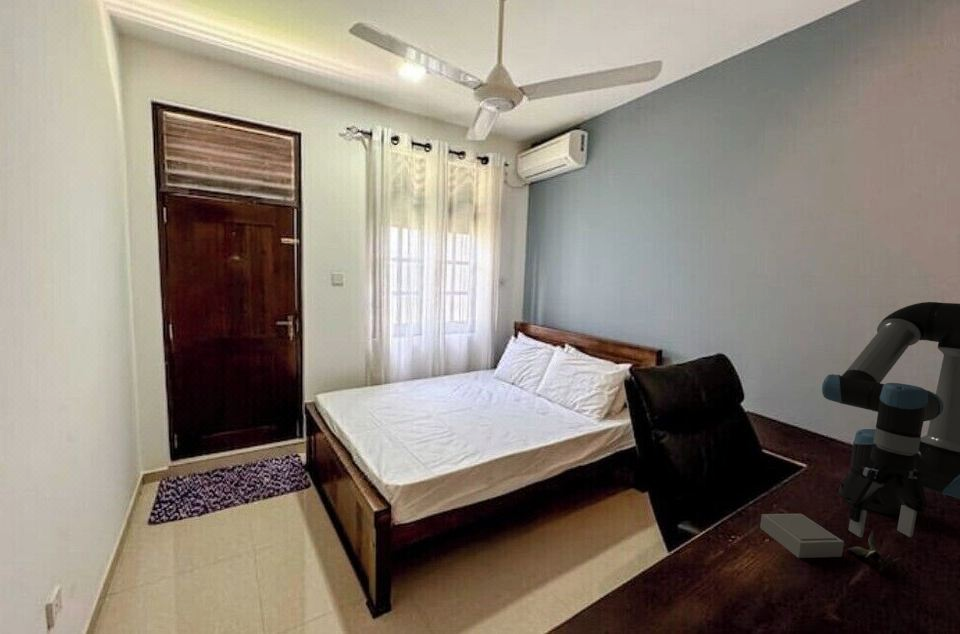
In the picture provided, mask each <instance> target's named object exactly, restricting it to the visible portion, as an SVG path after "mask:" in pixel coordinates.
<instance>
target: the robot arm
mask: <svg viewBox="0 0 960 634" xmlns="http://www.w3.org/2000/svg"><path fill="white" fill-rule="evenodd" d="M876 331H877V333H876V334H875V335H874V337H872V339H871V340H870V341H869V343H868V344H867V345H866V346H865V347H864V348H863V350H862V351H861V352H860V353H859V355H858V356H857V358H855V360H854V361H853V362H852V363H851V365H850V366H849V367H848V368H847V369H846V370H845V371H844V373H843V374H842V375H840V374H833V373H832V374H828V375H827V376H825V378H824V379H823V382H822V385H821V386H822V387H821V391H822V395H823V397H824V399H826V400H828V401H832V402H835V403H839V404H841V405H847V406H850V407H856V408H859V409H863V410H867V411H872V412H876V413H877V416H876V423H875V428H864V429H863V428H862V429H859V430H858V431H856V433H855V436H854V440H853V442H852V445H853V446H852V452H851V460H850V465H849V470H848V473H847V475H846V476H845V477H844V479H843V480H842V482H841V483H840V484H839V488H838V489H839V490H838V493H839V495H840V496H841V497H842V499H843V500H842V501H843V502H844V503H845V504H847V505H849V506H850V510H849V524H848V531H849V532H851V533H852V534H853V535H855V536H857V537H859V538H864V537H863V536H864V531H865V525H866V519H867V515H868V512H867V510H869V511H872V512H874V513H879V514H882V515H883V514H884V515H889V516H890V515H891V516H899V517H898V522H897V523H898V524H897V529H896V530H897V532H899V533H901V534H903V535H905V536H907V537H909V538H913V536H914V531H915V524H916V521H917V517H918V512H919V513H925V509H927V508H928V502H927V498H926V493H925V490H924V488H925V489H928V490H932V491H934V492H936V493H940V494H942V495H943V496H945V495H946V496H948V497H949V496H950V497H953V498H955V499H959V500H960V303H953V302H936V301H927V302H926V301H925V302H919V303H914V304H910V305H907V306H905V307H902V308H899V309H898V310H894V311H893V312H892V313H890V314H888V315H887V316H886V317H884V318H883V319H882V320H881V321H880V323H879V324H878V325H877V328H876ZM919 341H928V342H934V343H936V342H937V343H938V344H937V350H939V351H940V352H941V353H942V354H943V356H942V357H943V359H942V363H941V367H940V372H939V377H938V382H937V386H936V392H935V393H934V392H932V391H931V390H927V389H925V388H923V387H921V386H916V385H911V384H905V383H899V382H887V383H882V381H883V380H884V379H885V378H886V377H887V375H888V374H889V372H890V371H891V370H892V368H893V367H894V366H895V365H896V363H897V362H898V360H900V358H901V357H902V355H903V354H904V353H905V352H906V350H907V349H908V348H909V346H913V345H915V344H917V343H918V342H919ZM928 421H929V424H928V429H927V434H926V435H924V436H921V435H922V431H923V426H924V422H928ZM865 509H866V510H865Z"/></svg>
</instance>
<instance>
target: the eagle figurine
mask: <svg viewBox="0 0 960 634" xmlns="http://www.w3.org/2000/svg"><path fill="white" fill-rule="evenodd" d="M867 542H868V546H869V549H866V548H863V547H861V546H854V547H853V546H852V547H848V548H847V549H846V550H847V551H849V552H850V551H851V552H853V553H854V554H855V555H858V556H860V557H861V556H864V558H868V557H869V558H870V559H871V560H872V561H873V562H874V563H876V564H877V565H878V566H879V572H880V573H882V572H883V570H884V569H885V568H886V567H888V566H889V565H892V564H894V563H898V562H900V561H901V560H903V557H899V558H895V559H893V557H892V556H891V554H888V555H887V556H886V557H885V558H884V557H883V556H882V555H881V554H880V553H879V552H878V551H877V543H876V541H875V540H874V531H873V530H871V531H870V534H869V536H868V539H867Z"/></svg>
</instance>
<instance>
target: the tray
mask: <svg viewBox="0 0 960 634" xmlns="http://www.w3.org/2000/svg"><path fill="white" fill-rule="evenodd" d="M760 516H761V518H760V524H759V525H760V526H759V528H760V529H761V530H762V531H763V532H764V533H766V534H767V535H769V536H770V538H772V539H774V540H775V541H776V542H777V543H778V544H780V545H782V546H783V547H784V548H785V549H786V550H787V551H789V552H790V553H791V554H793V555H794V556H795V557H796V558H797V559H807V558H809V559H810V558H812V559H814V558H842V557H843V552H844V551H843V550H844V545H845V541H844V540H843V539H841V538H839V537H838V536H836V535H835V534H833V533H831V532H830V531H828V530H827V529H825V528H824V527H822V526H821V525H819V524H818V523H816V522H814V521H813V520H812V519H810V518H808V517H807V516H805V515H804V514H802V513H761V515H760Z"/></svg>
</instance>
